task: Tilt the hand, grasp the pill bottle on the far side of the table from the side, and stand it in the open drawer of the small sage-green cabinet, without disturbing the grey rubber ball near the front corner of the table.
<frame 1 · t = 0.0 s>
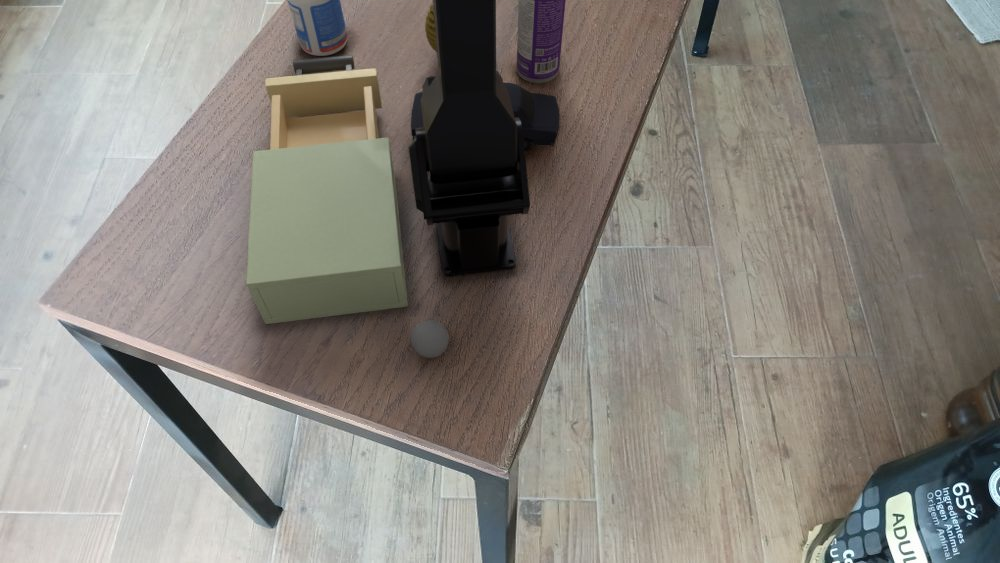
cabinet: (335, 248, 65), on the table
sculpture: (460, 54, 81), on the table
toy car: (486, 134, 74), on the table
container: (537, 70, 79), on the table
drawer: (326, 121, 70), point 3 cm above the table, slide at 9.5 cm
pill bottle: (324, 43, 82), on the table
rubber ball: (430, 338, 58), point 1 cm above the table
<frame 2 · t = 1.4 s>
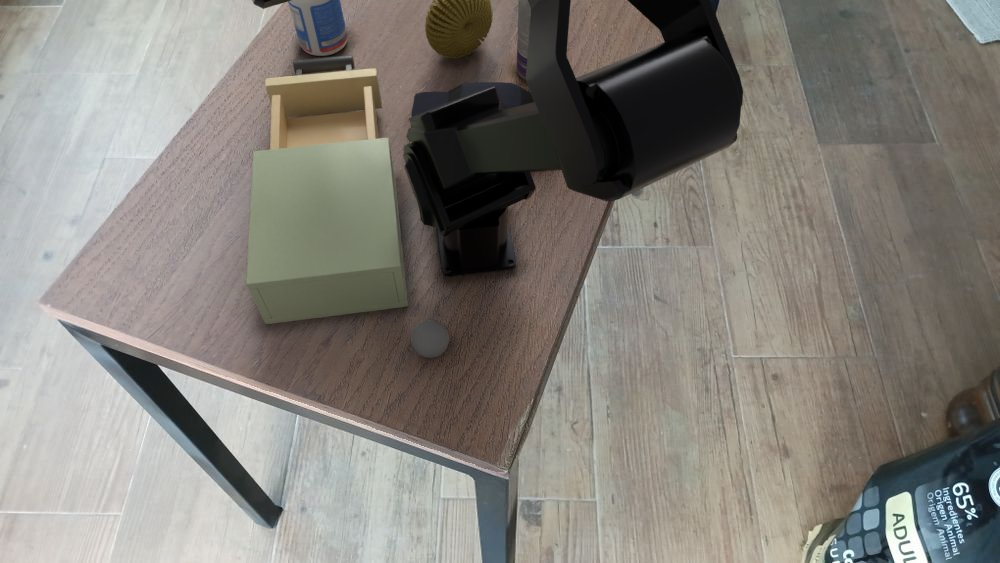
nothing on the table moved.
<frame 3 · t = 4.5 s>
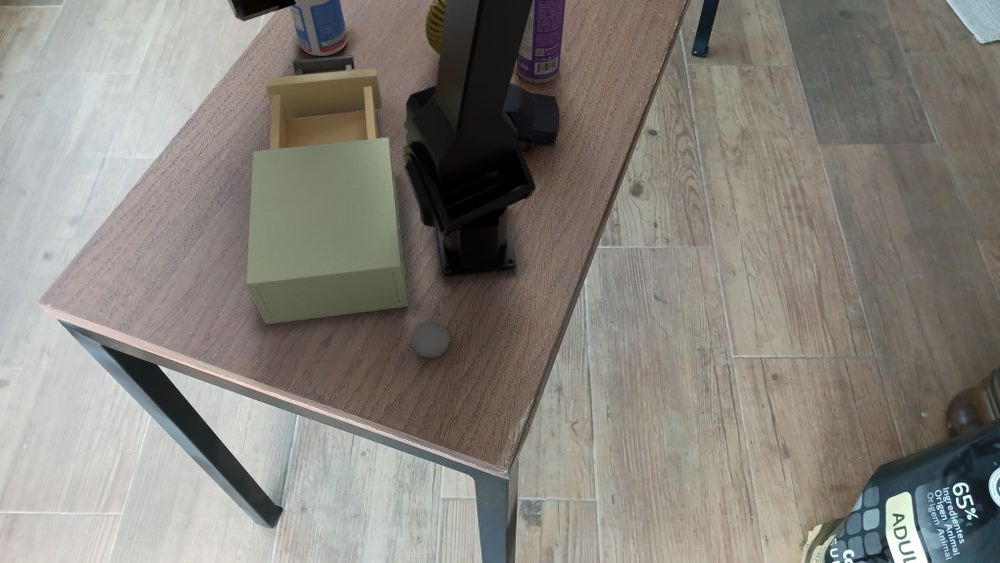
pill bottle: (324, 43, 82), on the table, touching gripper
everything else where it was.
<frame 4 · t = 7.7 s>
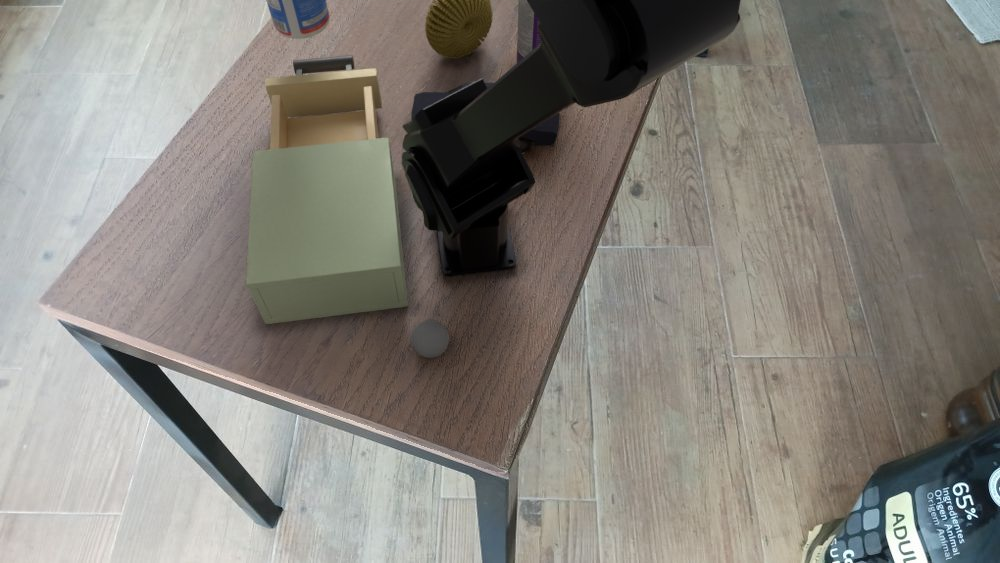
pill bottle: (302, 25, 71), point 8 cm above the table, touching gripper
everything else where it was.
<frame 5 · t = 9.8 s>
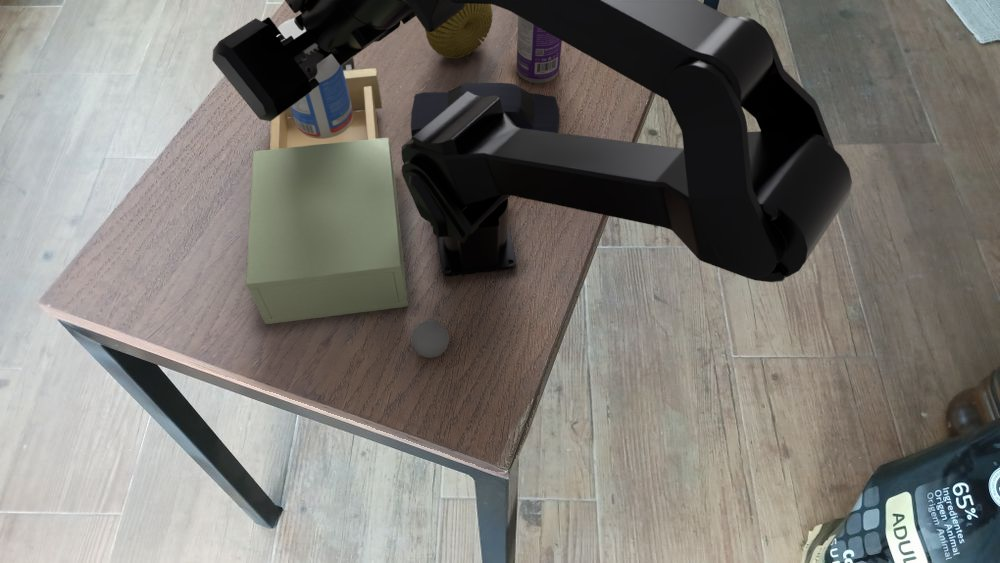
hand: (298, 56, 63), 11 cm above the table, tool tilted 45°, fingers closed on pill bottle, 5 cm apart
pill bottle: (325, 122, 68), point 4 cm above the table, touching gripper
everything else where it was.
when the fingers open (8 cm above the table, at t = 11.0 s): pill bottle stays where it is, resting on drawer.
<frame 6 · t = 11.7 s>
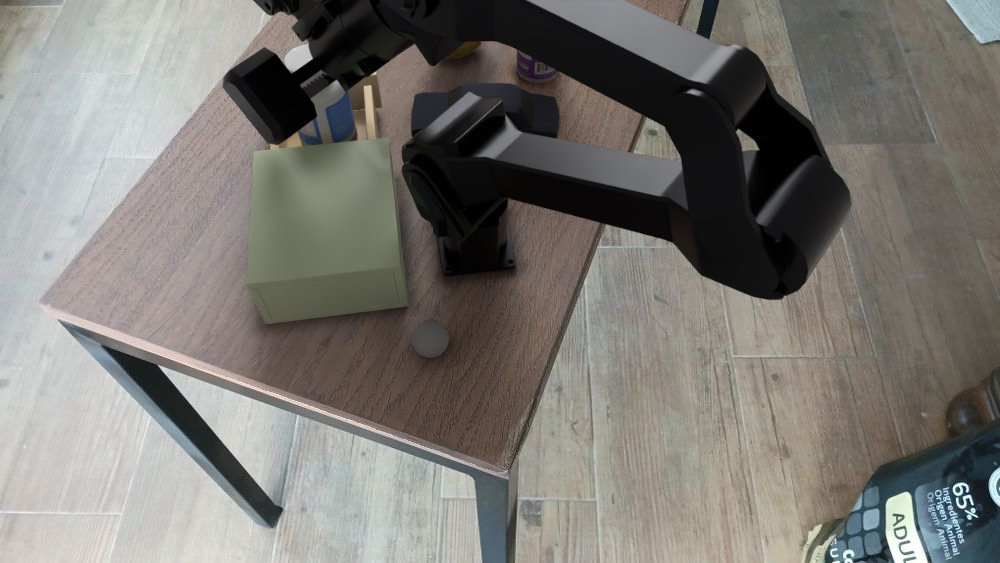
hand: (303, 77, 65), 9 cm above the table, tool tilted 45°, fingers open, 9 cm apart
drawer: (326, 120, 70), point 3 cm above the table, slide at 9.6 cm, touching pill bottle
pill bottle: (330, 142, 70), point 2 cm above the table, touching drawer
everything else where it was.
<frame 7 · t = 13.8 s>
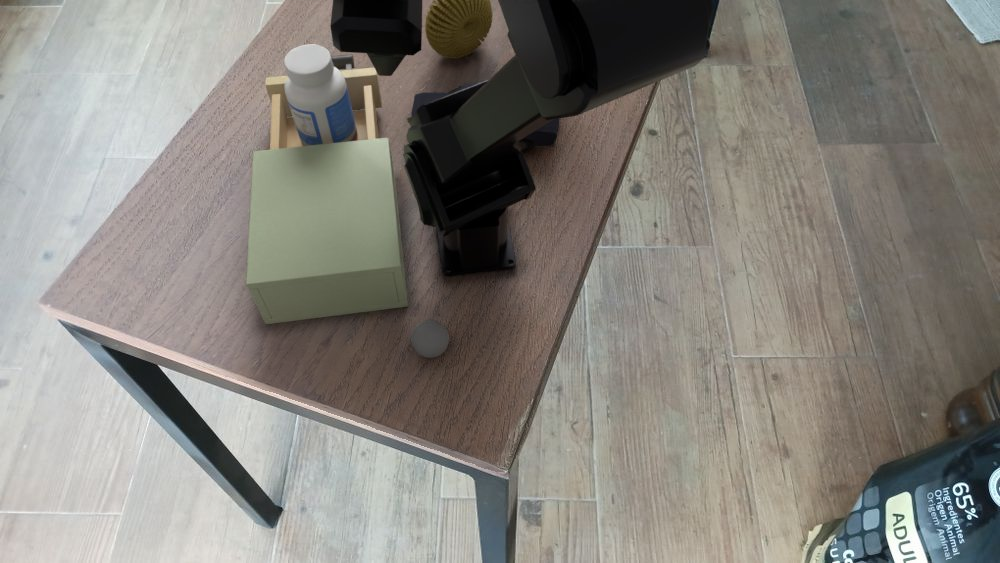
hand: (387, 32, 62), 13 cm above the table, tool pointing down, fingers open, 9 cm apart
nothing on the table moved.
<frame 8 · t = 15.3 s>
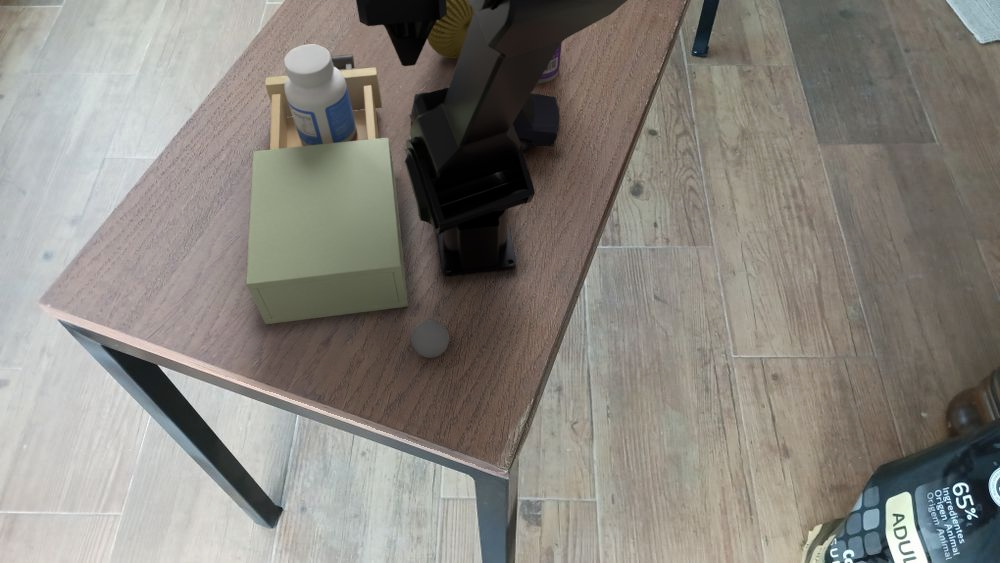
hand: (404, 29, 62), 13 cm above the table, tool pointing down, fingers open, 9 cm apart
nothing on the table moved.
at the end: pill bottle inside the target area in the drawer (0.4 cm from its centre), point 1.7 cm above the cabinet's base; pill bottle tilted 0°; rubber ball moved 0.0 cm from its start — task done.
